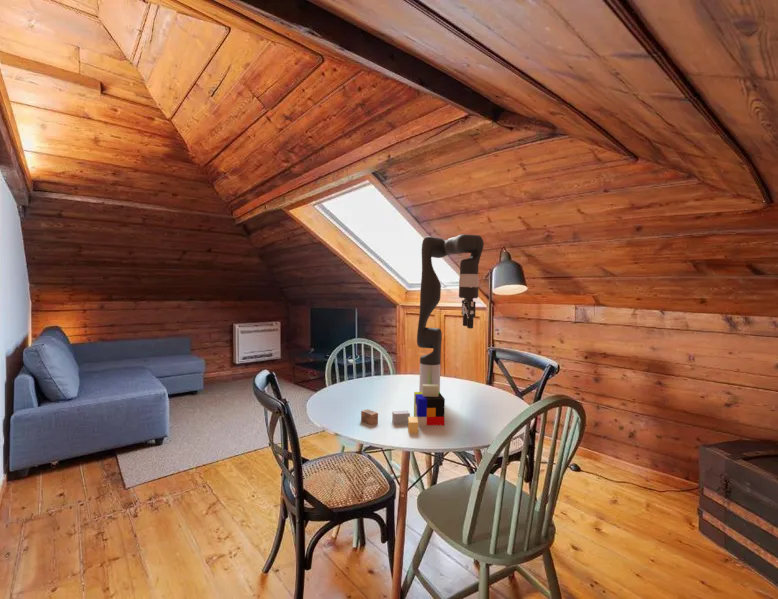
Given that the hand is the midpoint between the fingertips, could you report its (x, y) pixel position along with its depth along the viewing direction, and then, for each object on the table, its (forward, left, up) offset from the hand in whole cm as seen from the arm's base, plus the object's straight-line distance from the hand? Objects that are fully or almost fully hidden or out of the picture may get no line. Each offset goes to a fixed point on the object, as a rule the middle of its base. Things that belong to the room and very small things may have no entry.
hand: (467, 327), depth 155 cm
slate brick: (+6, -26, -36) cm, 45 cm away
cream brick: (+4, -15, -26) cm, 30 cm away
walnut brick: (+6, -38, -36) cm, 53 cm away
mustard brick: (+14, -22, -36) cm, 45 cm away
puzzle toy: (+4, -15, -36) cm, 40 cm away
